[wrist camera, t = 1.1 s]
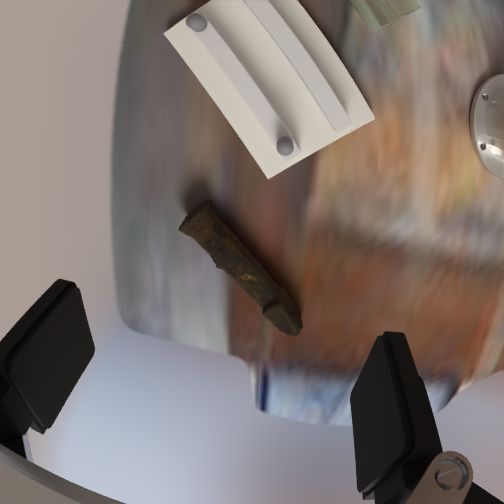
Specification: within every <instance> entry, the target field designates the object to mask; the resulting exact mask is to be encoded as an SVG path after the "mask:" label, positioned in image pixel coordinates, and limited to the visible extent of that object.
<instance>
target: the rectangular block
mask: <svg viewBox="0 0 504 504" xmlns="http://www.w3.org/2000/svg"><path fill="white" fill-rule="evenodd" d="M349 1H350V2H351V4H352V5H353V7H354V8H355V9H356V11H357V12H358V14H359V15H360V16H361V18H362V19H363V21H364V22H365V24H366V25H367V27H368V28H369V30H370V31H371V33H373V32H375V31H377V30H379V29H382V28H384V27H386V26H388V25H391V24H392V23H394V22H396V21H398V20H399V19H401V18H403V17H405V16H407V15H408V14H410V13H412V12H414V11H416V10H417V9H419V8H421V7H420V6H419V4H418V3H417V1H416V0H349Z"/></svg>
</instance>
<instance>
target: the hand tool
mask: <svg viewBox="0 0 504 504" xmlns="http://www.w3.org/2000/svg"><path fill="white" fill-rule="evenodd" d="M179 231H181V232H183V233H184V234H186V235H188V236H191V237H192V238H193V239H195V240H196V241H197V242H198V244H199V245H200V246H201V247H202V248H203V249H204V250H206V252H207V253H208V254H209V255H210V256H211V258H212V259H213V261H214V263H216V267H217V268H219V269H223V270H225V272H226V273H227V274H228V275H230V277H231V278H232V279H233V280H234V281H235V282H236V283H237V284H238V285H239V286H240V287H241V288H242V289H243V290H244V291H245V292H246V293H247V294H248V295H249V296H250V297H251V298H253V299H254V300H255V301H256V303H257V304H258V305H259V306H260V307H261V308H262V309H263V311H262V313H263V315H264V316H265V317H266V318H267V319H268V320H269V321H271V322H272V323H273V325H274V326H275V327H277V328H278V329H279V330H280V331H281V332H284V333H285V334H286V335H290V336H297V335H299V334H300V332H301V330H302V328H303V324H302V320H301V317H300V314H299V312H298V310H297V308H296V306H295V304H294V302H293V301H292V300H291V298H290V296H289V294H288V293H287V291H286V290H285V289H284V288H283V287H282V286H278V284H277V283H276V282H275V281H274V280H273V279H272V278H271V276H270V275H269V274H268V273H267V272H266V270H265V269H264V268H263V267H262V266H261V264H260V263H259V262H258V260H257V259H255V258H254V257H253V256H252V255H251V253H250V252H249V251H248V250H247V249H246V247H245V246H244V245H243V244H242V242H241V241H240V240H239V239H238V237H237V236H236V235H235V234H234V233H233V232H232V231H231V230H230V229H229V228H228V227H227V226H226V225H225V224H224V223H223V222H222V221H221V220H220V219H219V217H218V216H217V215H216V214H215V212H214V211H213V209H212V207H211V200H207V201H206V202H204V203H203V204H201V205H200V206H198V207H197V208H196V209H194V210H193V211H192V212H191V213H189V214H188V215H187V216H186V217H185V220H184V221H183V222H182V224H181V225H180V227H179Z"/></svg>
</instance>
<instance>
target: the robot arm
mask: <svg viewBox="0 0 504 504" xmlns="http://www.w3.org/2000/svg"><path fill="white" fill-rule="evenodd" d="M470 131H471V137H472V141H473V145H474V148H475V151H476V153H477V155H478V157H479V159H480V160H481V162H482V163H483V165H484V166H485V167H486V168H487V169H488V170H489V171H490V172H491V173H493V174H494V175H496V176H497V177H500V178H502V179H504V74H496V75H493V76H491V77H489V78H488V79H486V80H485V81H484V82H483V83H482V84H481V86H480V87H479V88H478V90H477V92H476V94H475V96H474V99H473V103H472V106H471V114H470ZM94 352H95V346H94V342H93V339H92V335H91V332H90V328H89V325H88V321H87V317H86V313H85V309H84V305H83V301H82V297H81V292H80V289H79V288H77V286H76V284H75V283H74V282H71V281H67V280H63V279H58V280H57V281H55V282H54V284H52V285H51V287H50V288H49V289H48V290H47V291H46V292H45V293H44V294H43V295H42V296H41V297H40V298H39V299H38V300H37V301H36V302H35V303H34V304H33V305H32V306H31V307H30V309H29V310H28V311H27V312H26V313H25V314H24V315H23V316H22V317H21V318H20V320H19V321H18V322H17V323H16V324H15V325H14V327H12V329H11V330H10V331H9V332H8V333H7V334H6V336H5V337H4V338H3V339H2V340H1V341H0V504H125V503H122V502H120V501H117V500H114V499H111V498H108V497H106V496H103V495H101V494H98V493H96V492H93V491H91V490H88V489H86V488H84V487H81V486H79V485H77V484H74V483H72V482H70V481H68V480H66V479H64V478H61V477H59V476H57V475H55V474H53V473H51V472H49V471H47V470H45V469H43V468H41V467H39V466H38V465H36V464H34V463H33V458H32V454H31V449H30V444H29V440H28V434H27V431H28V429H29V427H31V428H32V429H33V430H35V431H37V432H39V433H41V434H44V433H45V431H46V429H48V428H50V427H51V426H52V425H53V423H54V421H55V419H56V418H57V416H58V414H59V412H60V411H61V409H62V407H63V406H64V404H65V402H66V400H67V399H68V397H69V395H70V394H71V392H72V390H73V388H74V387H75V385H76V383H77V382H78V380H79V378H80V377H81V375H82V373H83V372H84V370H85V368H86V367H87V365H88V364H89V362H90V360H91V359H92V357H93V355H94ZM350 404H351V414H352V424H353V434H354V447H355V460H356V476H357V489H358V491H359V492H362V495H363V500H372V499H375V504H504V503H503V502H502V501H500V500H499V499H497V498H496V497H494V496H493V495H491V494H490V493H488V492H487V491H485V490H484V489H482V488H481V487H479V486H478V485H477V484H475V483H474V482H472V480H473V469H472V466H471V464H470V462H469V461H468V459H467V458H466V457H464V456H463V455H462V454H460V453H458V452H454V451H446V452H443V451H442V447H441V442H440V438H439V434H438V430H437V427H436V423H435V419H434V416H433V412H432V408H431V405H430V402H429V398H428V395H427V391H426V388H425V385H424V382H423V380H422V378H421V377H420V376H419V375H418V372H417V369H416V366H415V363H414V360H413V357H412V354H411V351H410V348H409V345H408V342H407V339H406V337H405V334H404V333H402V332H389V331H386V332H384V333H383V335H382V336H378V337H377V339H376V341H375V343H374V345H373V347H372V350H371V352H370V354H369V356H368V358H367V361H366V363H365V365H364V367H363V369H362V371H361V373H360V375H359V377H358V379H357V381H356V383H355V385H354V387H353V389H352V392H351V396H350Z"/></svg>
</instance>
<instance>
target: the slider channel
mask: <svg viewBox="0 0 504 504" xmlns="http://www.w3.org/2000/svg"><path fill="white" fill-rule="evenodd" d="M164 35H165V36H166V37H167V38H168V40H169V41H170V42H171V44H172V45H173V46H174V48H175V49H176V50H177V52H178V53H179V54H180V55H181V57H182V58H183V59H184V61H185V62H186V63H187V65H188V66H189V67H190V69H191V70H192V71H193V73H194V74H195V75H196V77H197V78H198V80H199V81H200V82H201V84H202V85H203V86H204V88H205V89H206V90H207V92H208V93H209V95H210V96H211V97H212V99H213V100H214V102H215V103H216V104H217V106H218V107H219V109H220V110H221V111H222V113H223V114H224V116H225V117H226V118H227V120H228V121H229V123H230V124H231V125H232V127H233V128H234V130H235V131H236V133H237V134H238V136H239V137H240V138H241V140H242V141H243V143H244V144H245V146H246V147H247V149H248V150H249V152H250V153H251V154H252V156H253V157H254V159H255V160H256V162H257V163H258V165H259V166H260V168H261V169H262V171H263V172H264V174H265V175H266V177H267V178H268V179H269V178H271V177H273V176H275V175H276V174H278V173H280V172H281V171H283V170H285V169H286V168H288V167H290V166H292V165H293V164H295V163H297V162H298V161H300V160H302V159H304V158H305V157H307V156H309V155H311V154H312V153H314V152H316V151H318V150H319V149H321V148H323V147H325V146H326V145H328V144H330V143H332V142H334V141H335V140H337V139H339V138H341V137H343V136H344V135H346V134H348V133H350V132H352V131H353V130H355V129H357V128H359V127H361V126H363V125H365V124H366V123H368V122H370V121H372V120H374V119H375V117H374V115H373V113H372V112H371V110H370V108H369V106H368V105H367V103H366V101H365V99H364V98H363V96H362V94H361V92H360V91H359V89H358V87H357V86H356V84H355V82H354V81H353V79H352V78H351V76H350V74H349V73H348V71H347V70H346V68H345V66H344V65H343V63H342V62H341V60H340V59H339V57H338V56H337V54H336V53H335V51H334V50H333V48H332V47H331V45H330V44H329V42H328V41H327V39H326V38H325V37H324V35H323V34H322V32H321V31H320V30H319V28H318V27H317V25H316V24H315V23H314V21H313V20H312V19H311V17H310V16H309V15H308V13H307V12H306V11H305V9H304V8H303V7H302V6H301V4H300V3H299V2H298V1H297V0H211V1H209V2H208V3H206V4H205V5H203V6H202V7H200V8H199V9H197V10H196V11H194V12H193V13H191V14H190V15H188V16H187V17H186V18H184V19H183V20H181V21H180V22H179V23H177V24H176V25H174V26H173V27H172V28H170V29H169V30H168V31H166V32H165V33H164Z"/></svg>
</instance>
